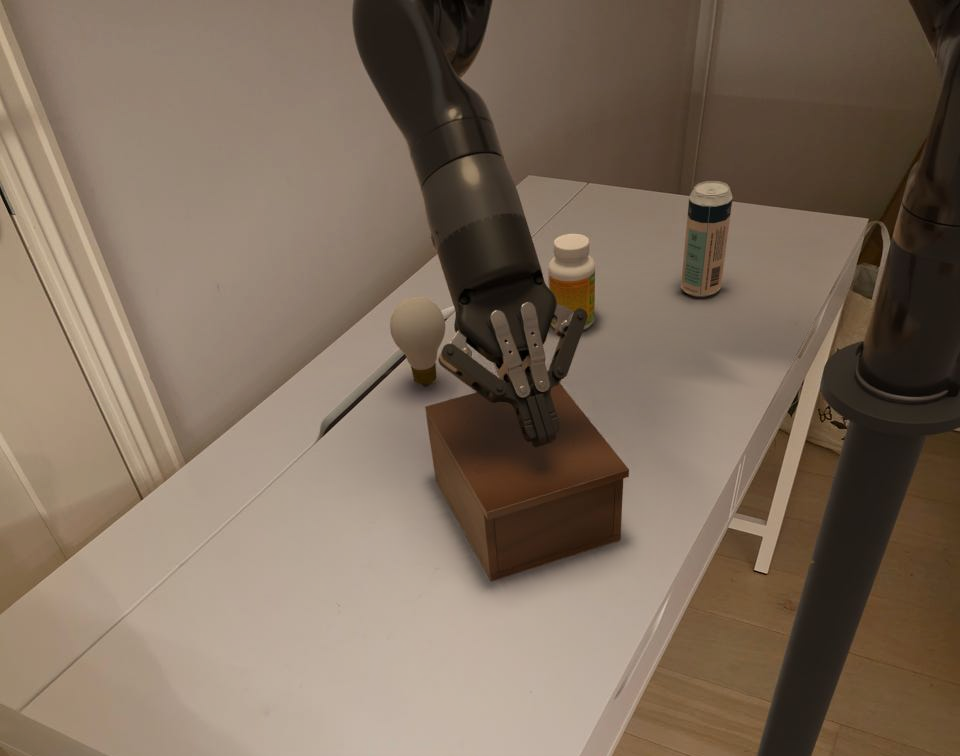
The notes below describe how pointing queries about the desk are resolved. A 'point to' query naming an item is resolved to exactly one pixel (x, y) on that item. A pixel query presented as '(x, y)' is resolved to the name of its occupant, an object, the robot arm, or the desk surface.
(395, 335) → the light bulb
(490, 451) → the lid
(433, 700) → the desk surface
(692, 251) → the beer can
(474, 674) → the desk surface
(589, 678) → the desk surface
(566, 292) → the supplement bottle
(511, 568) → the chest
